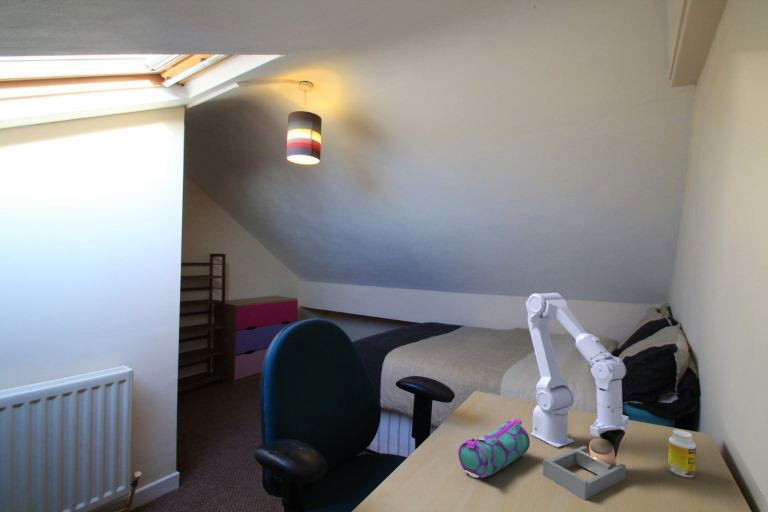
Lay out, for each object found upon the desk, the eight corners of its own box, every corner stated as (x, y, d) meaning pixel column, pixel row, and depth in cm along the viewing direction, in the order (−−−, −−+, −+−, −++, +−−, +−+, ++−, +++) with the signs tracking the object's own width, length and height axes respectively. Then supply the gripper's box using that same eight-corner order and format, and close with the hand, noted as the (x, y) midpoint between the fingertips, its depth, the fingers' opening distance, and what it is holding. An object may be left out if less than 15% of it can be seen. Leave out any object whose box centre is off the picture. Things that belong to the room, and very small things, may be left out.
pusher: (575, 463, 101) (576, 450, 101) (578, 462, 101) (578, 449, 101) (607, 479, 94) (608, 466, 94) (610, 478, 94) (610, 464, 94)
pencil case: (486, 488, 90) (487, 448, 90) (456, 471, 97) (457, 434, 97) (531, 459, 104) (532, 424, 104) (502, 446, 111) (503, 413, 110)
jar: (587, 466, 101) (583, 443, 100) (603, 457, 103) (599, 434, 102) (606, 479, 96) (602, 455, 95) (622, 469, 97) (618, 445, 96)
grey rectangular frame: (543, 474, 96) (543, 459, 96) (583, 457, 105) (583, 443, 105) (584, 499, 87) (585, 482, 87) (625, 478, 95) (625, 462, 95)
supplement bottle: (690, 481, 95) (691, 440, 95) (664, 470, 99) (665, 431, 99) (698, 474, 98) (699, 434, 98) (673, 464, 102) (674, 426, 102)
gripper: (609, 415, 93) (611, 471, 92) (640, 403, 100) (641, 456, 100) (581, 406, 99) (583, 459, 98) (612, 396, 106) (614, 445, 106)
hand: (610, 456), depth 100 cm, fingers closed, pressing on jar
